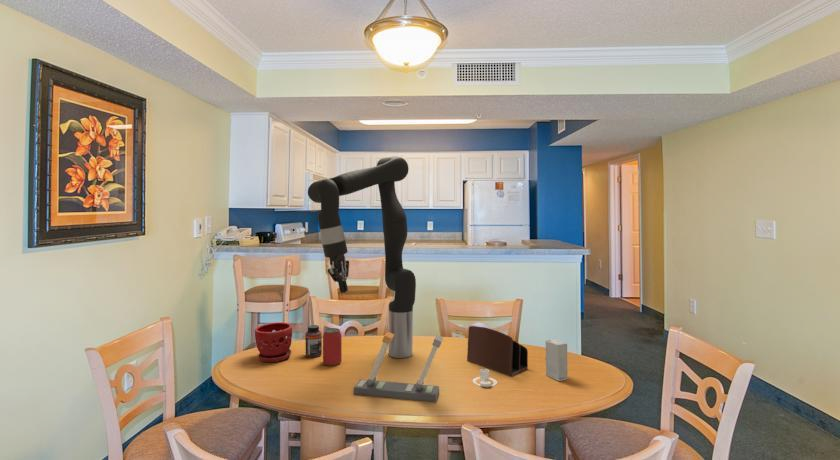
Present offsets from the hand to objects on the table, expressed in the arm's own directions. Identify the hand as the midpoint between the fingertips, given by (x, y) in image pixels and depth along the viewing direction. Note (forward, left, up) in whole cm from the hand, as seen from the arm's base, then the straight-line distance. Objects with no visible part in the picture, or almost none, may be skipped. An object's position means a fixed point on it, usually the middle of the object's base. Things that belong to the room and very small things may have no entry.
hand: (344, 292), depth 139 cm
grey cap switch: (+9, +27, -25) cm, 38 cm away
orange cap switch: (+9, +12, -25) cm, 29 cm away
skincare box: (-14, +69, -28) cm, 76 cm away
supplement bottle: (-17, -19, -28) cm, 38 cm away
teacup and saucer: (-3, +44, -29) cm, 52 cm away
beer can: (-11, -9, -28) cm, 32 cm away
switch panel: (+9, +20, -28) cm, 36 cm away
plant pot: (-11, -32, -28) cm, 44 cm away
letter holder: (-21, +50, -29) cm, 61 cm away
